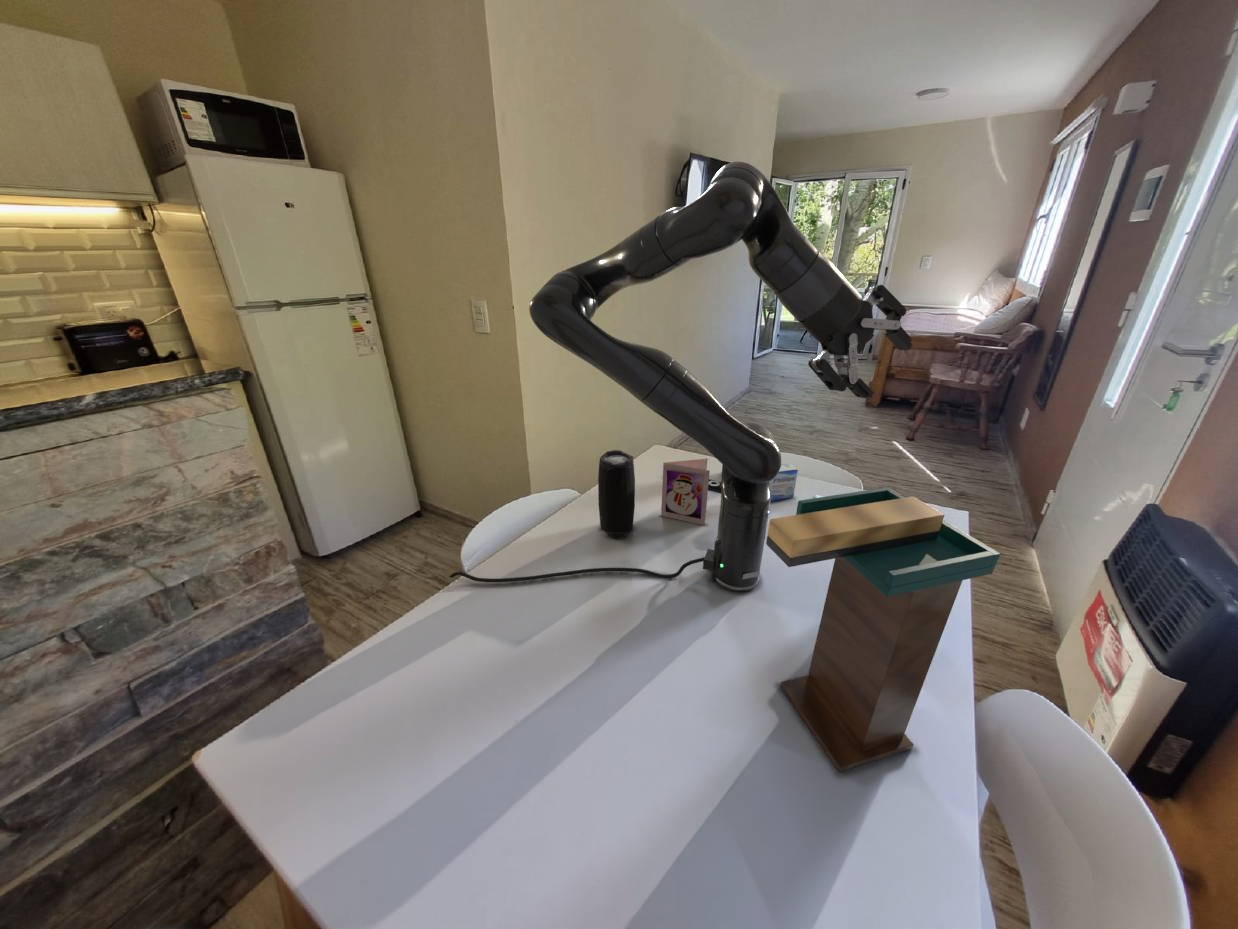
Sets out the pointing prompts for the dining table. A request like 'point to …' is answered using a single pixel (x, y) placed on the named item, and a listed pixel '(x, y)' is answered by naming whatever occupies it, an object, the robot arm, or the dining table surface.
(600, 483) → the portable speaker
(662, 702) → the dining table surface
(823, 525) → the eraser
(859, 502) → the tray
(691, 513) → the greeting card
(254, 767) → the dining table surface
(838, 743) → the stand
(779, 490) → the medicine box
